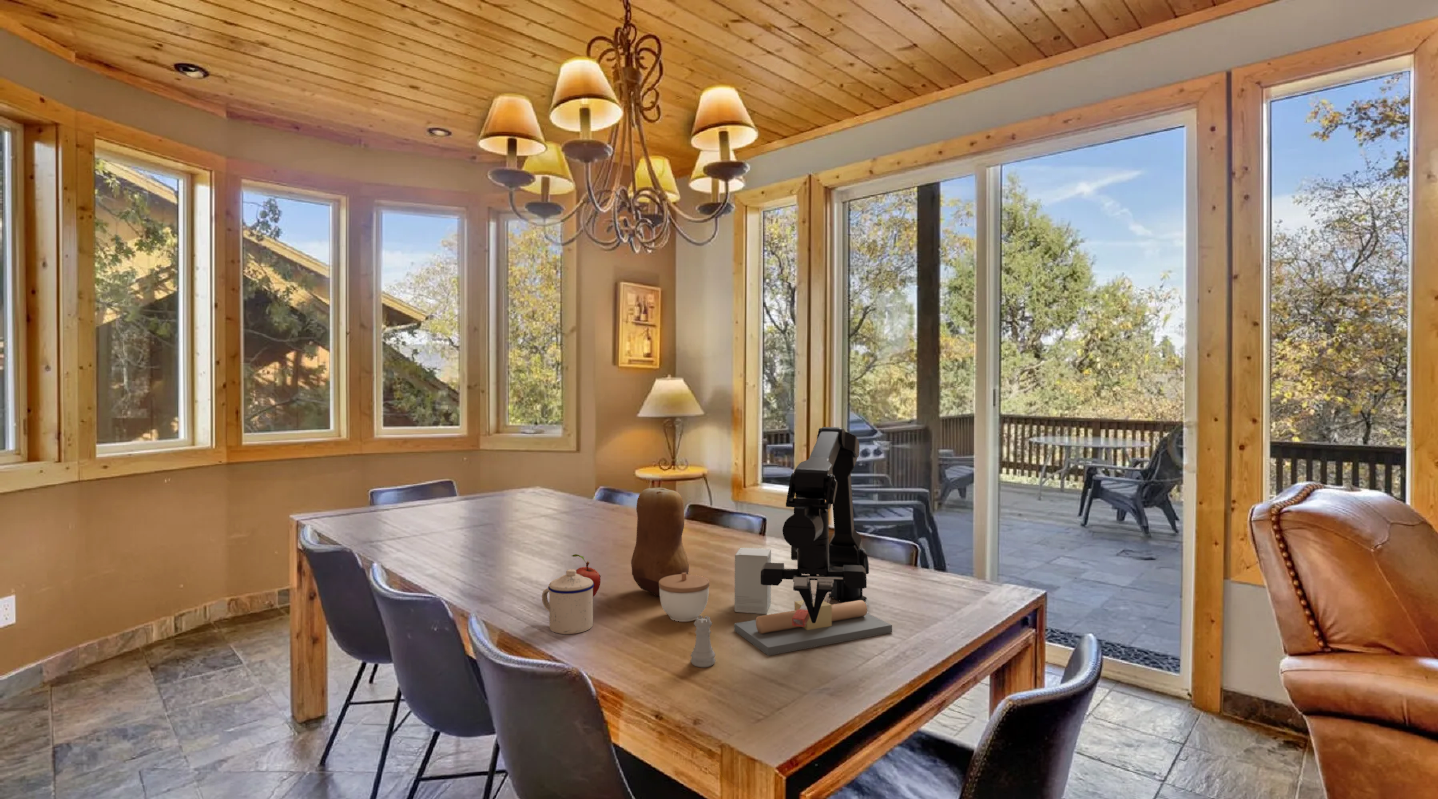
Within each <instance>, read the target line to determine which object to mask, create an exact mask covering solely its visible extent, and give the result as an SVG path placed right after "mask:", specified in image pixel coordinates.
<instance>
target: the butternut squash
mask: <svg viewBox="0 0 1438 799" xmlns="http://www.w3.org/2000/svg"><path fill="white" fill-rule="evenodd" d="M684 506H685V505H684V500H683V497H682V496H681V494H680V493H679V492H678V491H676V490H673V489H667V488H665V487H649V488H645V489H643V490H642V491H641V492H640V493H639V494H638V497H637V499H636V507H635V508H636V510H635V511H636V518H637V519H636V520H637V521H636V522H637V523H636V539H635V546H634V550H633V552H632V556H631V560H630V564H631V565H630V566H631V575H632V577H633V580H634V581H635V582H636V584H637V586H638V587H639V588H640V589H641V590H642V591H645V592H647V593H648V592H649V593H651V594H653V595H654V596H657V597H660V594H659V580H660V579H662V578H664V577H667V576H671V575H678V574H682V573H686V574H689V573H690V572H689V571H690V562H689V559H688V555H687V553H686V549H685V547H684V545H683V533H684V528H685V507H684Z"/></svg>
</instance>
